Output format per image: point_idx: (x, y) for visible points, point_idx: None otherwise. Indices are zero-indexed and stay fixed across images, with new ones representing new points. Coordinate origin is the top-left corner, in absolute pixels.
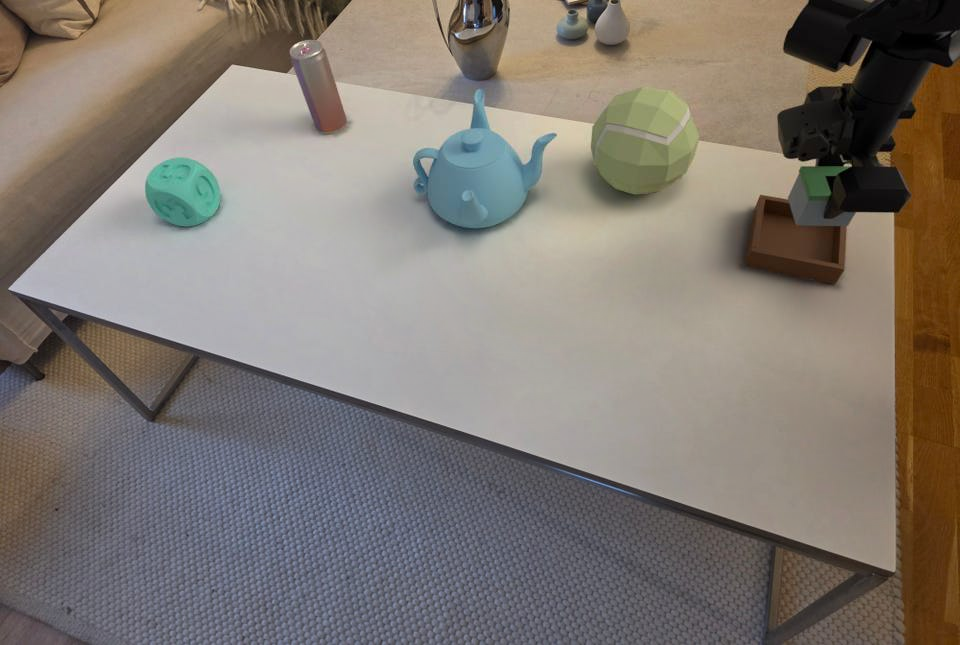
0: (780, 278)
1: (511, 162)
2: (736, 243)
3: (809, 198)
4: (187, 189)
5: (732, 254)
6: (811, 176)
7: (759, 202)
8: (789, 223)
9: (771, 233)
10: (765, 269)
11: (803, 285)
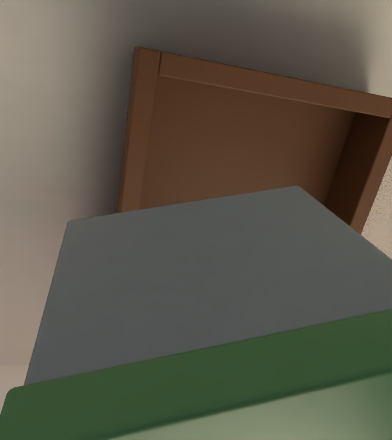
0: (102, 155)
1: None
2: (232, 26)
3: (4, 417)
4: None
5: (182, 7)
6: (342, 433)
7: (377, 97)
8: (306, 186)
9: (269, 137)
10: (127, 113)
11: (89, 212)
